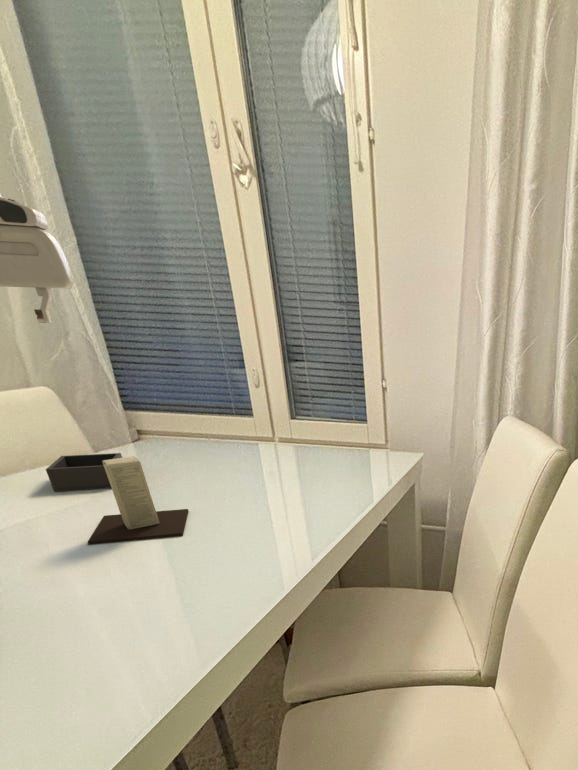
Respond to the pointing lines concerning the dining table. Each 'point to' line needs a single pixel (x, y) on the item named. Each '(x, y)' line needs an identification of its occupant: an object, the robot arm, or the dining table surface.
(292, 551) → the dining table surface
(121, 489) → the box
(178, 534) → the mat
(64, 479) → the bin
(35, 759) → the dining table surface
